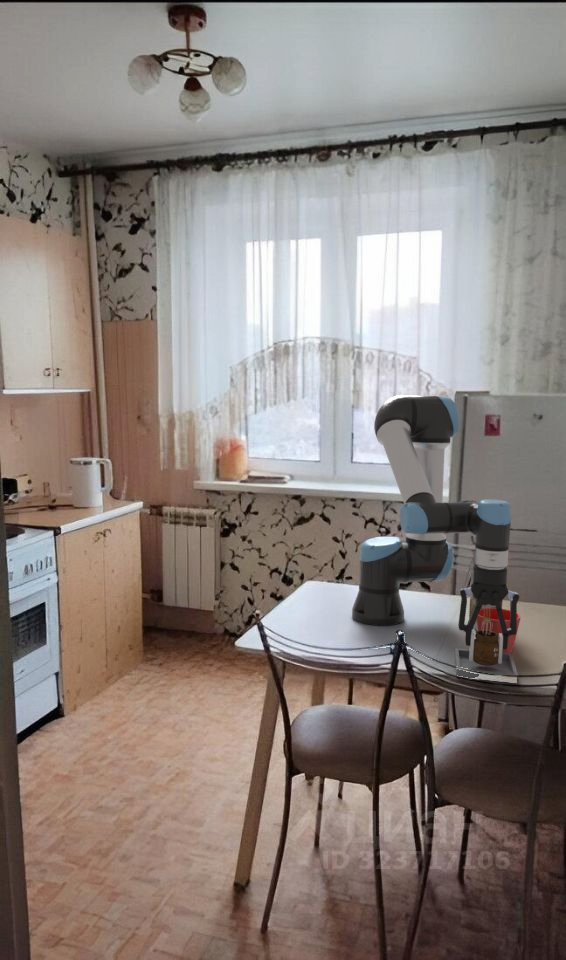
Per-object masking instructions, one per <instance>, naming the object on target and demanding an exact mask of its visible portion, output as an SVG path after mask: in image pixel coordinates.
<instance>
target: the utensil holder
mask: <svg viewBox="0 0 566 960" xmlns="http://www.w3.org/2000/svg"><path fill="white" fill-rule="evenodd" d="M487 616H488V609H486V618H485V609H484V616H483V623H482V624H485V623H486V630H484V629H483V630H479V631H477V630H476V631H475V633H474V651H473V661H474V662H475V663H477V664H480V665H485V666H492V665H496V664H497V662H498V654H499V643H498V641H497V640H498V635H497V633H495V632H493V631H489V630H487V629H488V626H487V623H489V622H490V626H491V623H492V622H491V621H490V609H489V619H488V618H487ZM484 622H485V623H484Z"/></svg>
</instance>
